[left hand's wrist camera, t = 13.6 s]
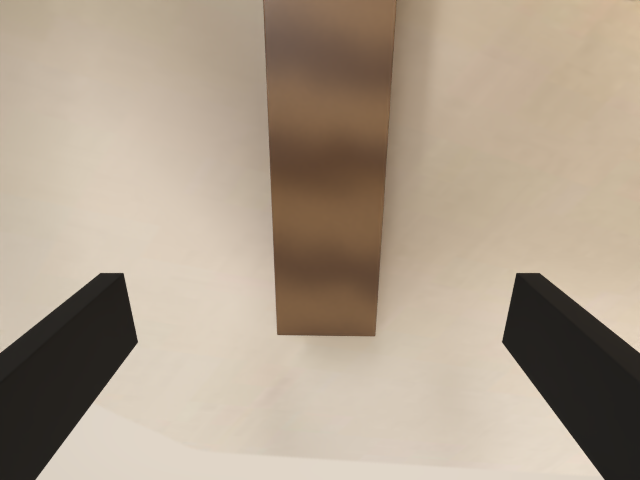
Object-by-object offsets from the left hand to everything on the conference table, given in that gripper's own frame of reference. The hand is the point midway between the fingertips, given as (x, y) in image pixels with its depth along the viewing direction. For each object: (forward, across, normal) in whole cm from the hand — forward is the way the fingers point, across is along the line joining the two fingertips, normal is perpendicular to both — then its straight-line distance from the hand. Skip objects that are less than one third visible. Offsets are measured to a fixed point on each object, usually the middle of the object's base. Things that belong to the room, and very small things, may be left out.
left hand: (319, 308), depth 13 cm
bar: (+16, -1, -26) cm, 30 cm away
